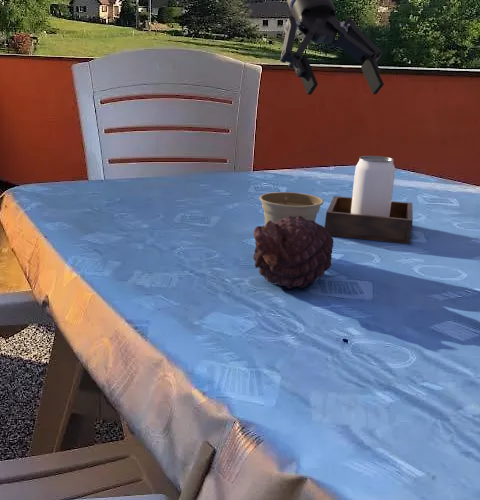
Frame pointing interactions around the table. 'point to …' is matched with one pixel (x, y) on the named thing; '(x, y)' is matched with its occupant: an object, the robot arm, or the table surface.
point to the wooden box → (369, 222)
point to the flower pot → (289, 205)
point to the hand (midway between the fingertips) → (346, 89)
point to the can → (373, 186)
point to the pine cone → (292, 251)
